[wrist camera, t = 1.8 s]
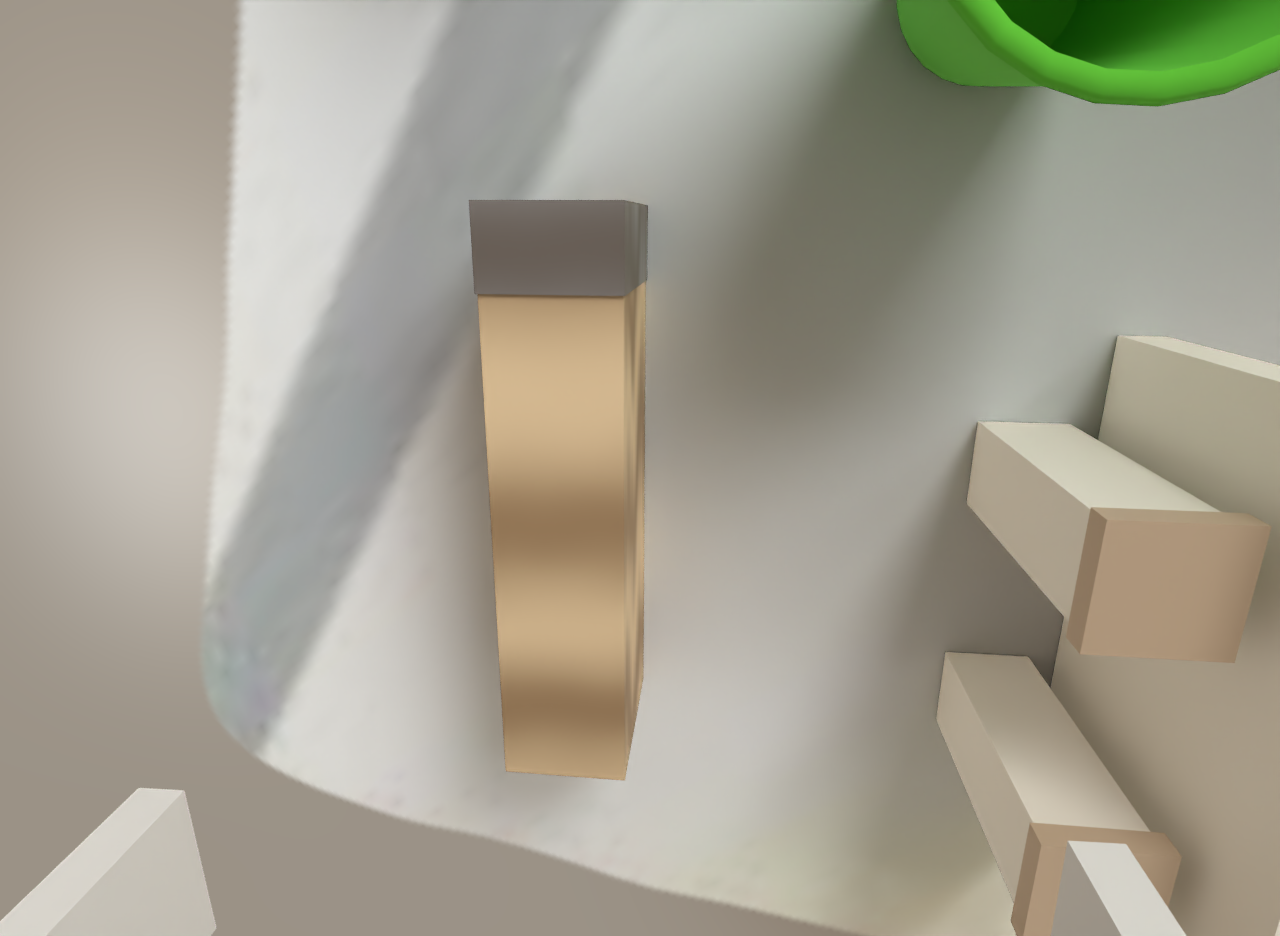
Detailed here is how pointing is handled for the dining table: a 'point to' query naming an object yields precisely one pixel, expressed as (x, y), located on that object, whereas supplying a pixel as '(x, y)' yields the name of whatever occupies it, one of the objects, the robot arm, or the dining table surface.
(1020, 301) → the dining table surface
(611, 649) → the block
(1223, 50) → the cup
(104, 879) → the robot arm
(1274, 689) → the headboard
